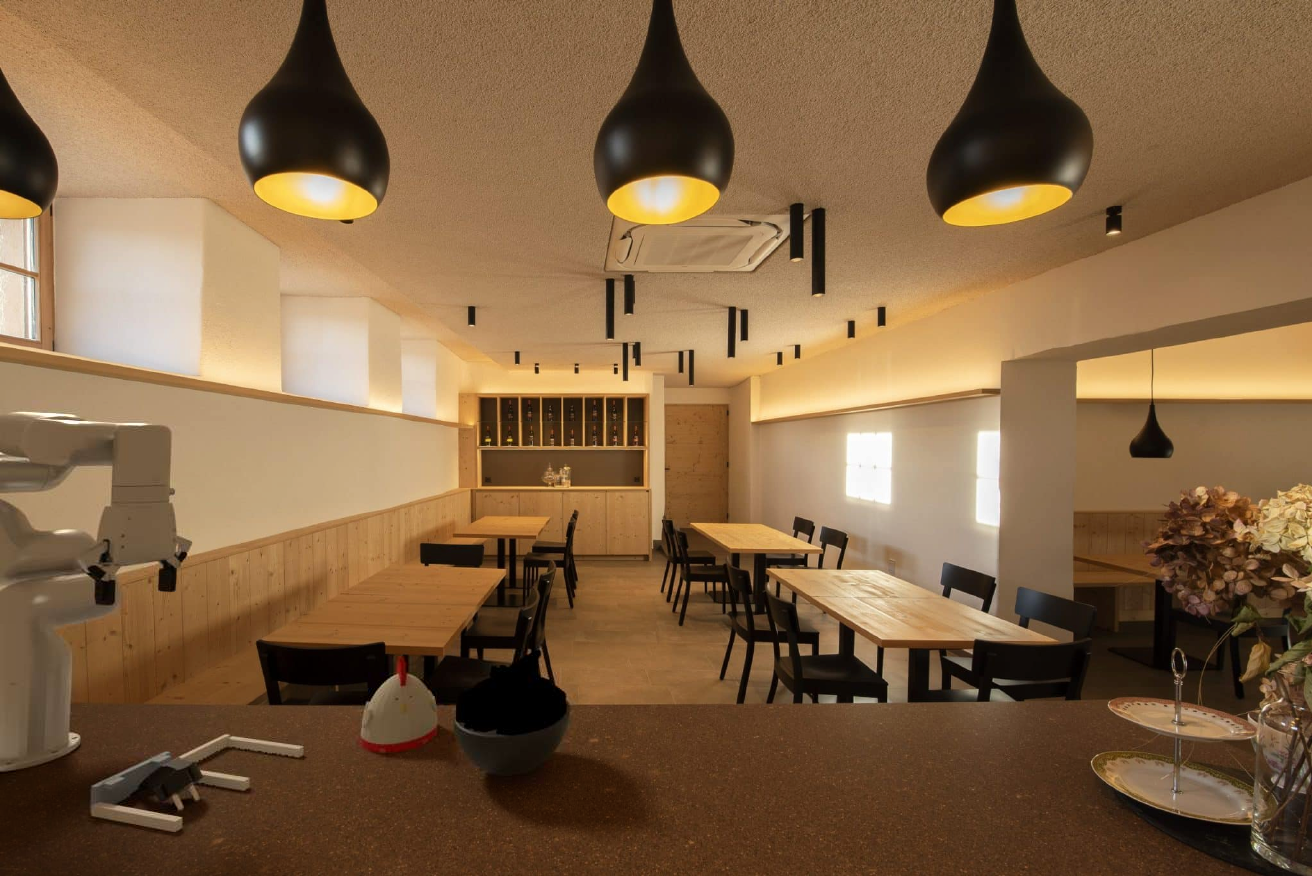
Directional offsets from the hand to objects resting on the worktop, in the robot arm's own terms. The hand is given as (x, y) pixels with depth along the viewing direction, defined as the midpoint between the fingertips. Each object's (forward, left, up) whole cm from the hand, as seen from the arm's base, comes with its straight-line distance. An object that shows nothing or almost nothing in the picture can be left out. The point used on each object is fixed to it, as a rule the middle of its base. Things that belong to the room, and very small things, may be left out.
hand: (137, 597), depth 100 cm
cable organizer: (+13, +2, -30) cm, 33 cm away
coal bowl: (+60, +19, -31) cm, 70 cm away
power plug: (+11, -3, -31) cm, 33 cm away
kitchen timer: (+33, +25, -31) cm, 51 cm away
